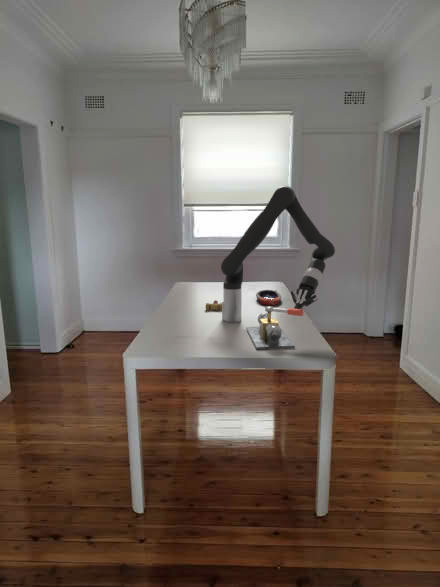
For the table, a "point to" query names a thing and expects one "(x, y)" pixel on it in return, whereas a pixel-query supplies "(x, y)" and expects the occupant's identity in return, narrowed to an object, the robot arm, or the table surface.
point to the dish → (269, 294)
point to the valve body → (269, 334)
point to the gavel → (214, 306)
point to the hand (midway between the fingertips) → (296, 312)
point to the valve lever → (286, 310)
